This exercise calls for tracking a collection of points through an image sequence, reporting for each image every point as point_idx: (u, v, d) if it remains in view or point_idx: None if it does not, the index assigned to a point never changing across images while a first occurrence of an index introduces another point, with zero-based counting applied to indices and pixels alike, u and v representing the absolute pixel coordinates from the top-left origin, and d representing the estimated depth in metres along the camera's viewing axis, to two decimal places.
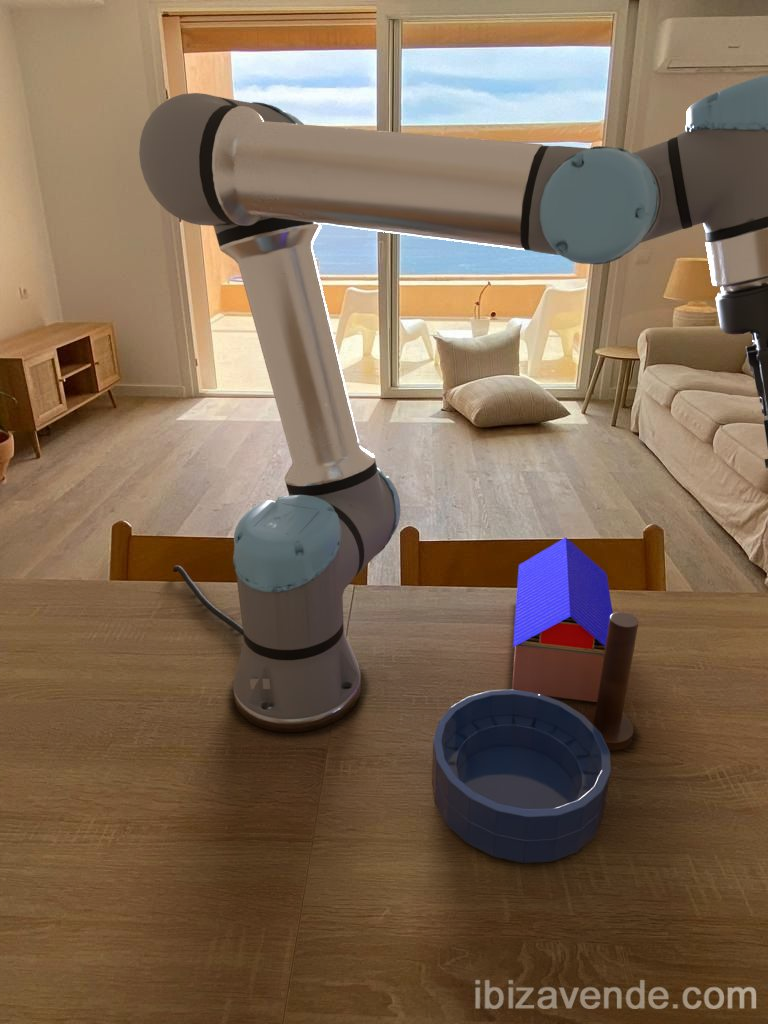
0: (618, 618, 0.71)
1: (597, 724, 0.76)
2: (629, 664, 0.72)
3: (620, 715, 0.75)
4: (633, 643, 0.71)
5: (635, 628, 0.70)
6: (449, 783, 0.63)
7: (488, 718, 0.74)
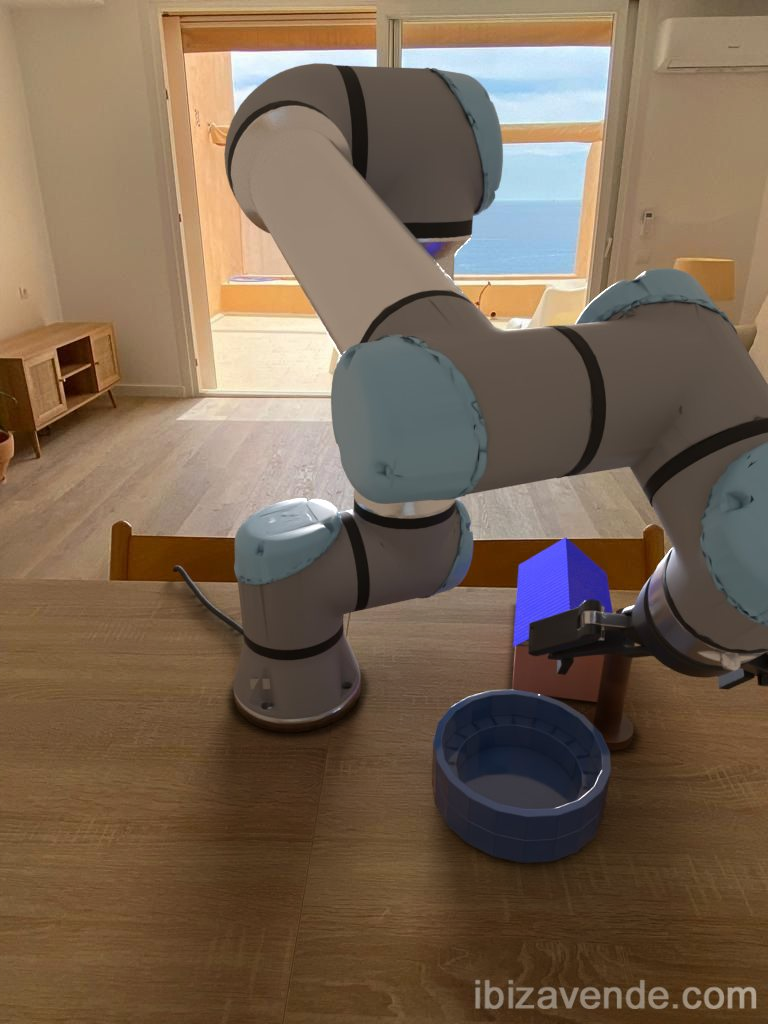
0: None
1: (597, 724, 0.76)
2: (629, 664, 0.72)
3: (620, 715, 0.75)
4: None
5: None
6: (449, 783, 0.63)
7: (488, 718, 0.74)
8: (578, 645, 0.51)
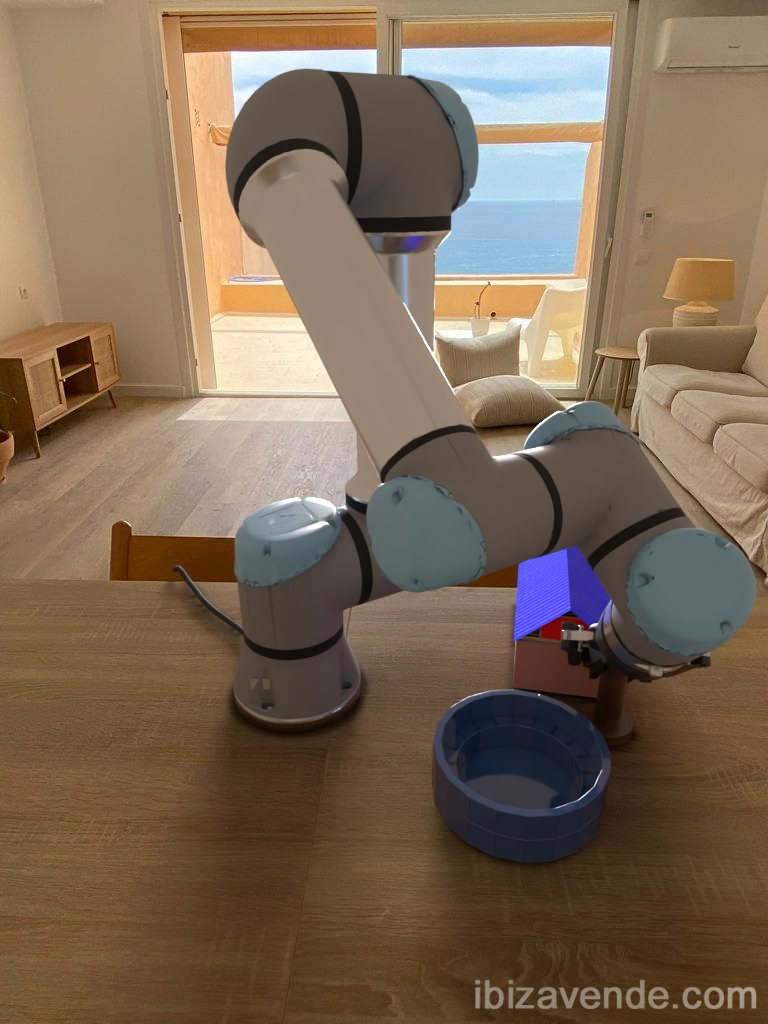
0: None
1: (597, 719, 0.76)
2: None
3: (620, 710, 0.75)
4: None
5: None
6: (449, 783, 0.63)
7: (488, 718, 0.74)
8: (579, 656, 0.67)
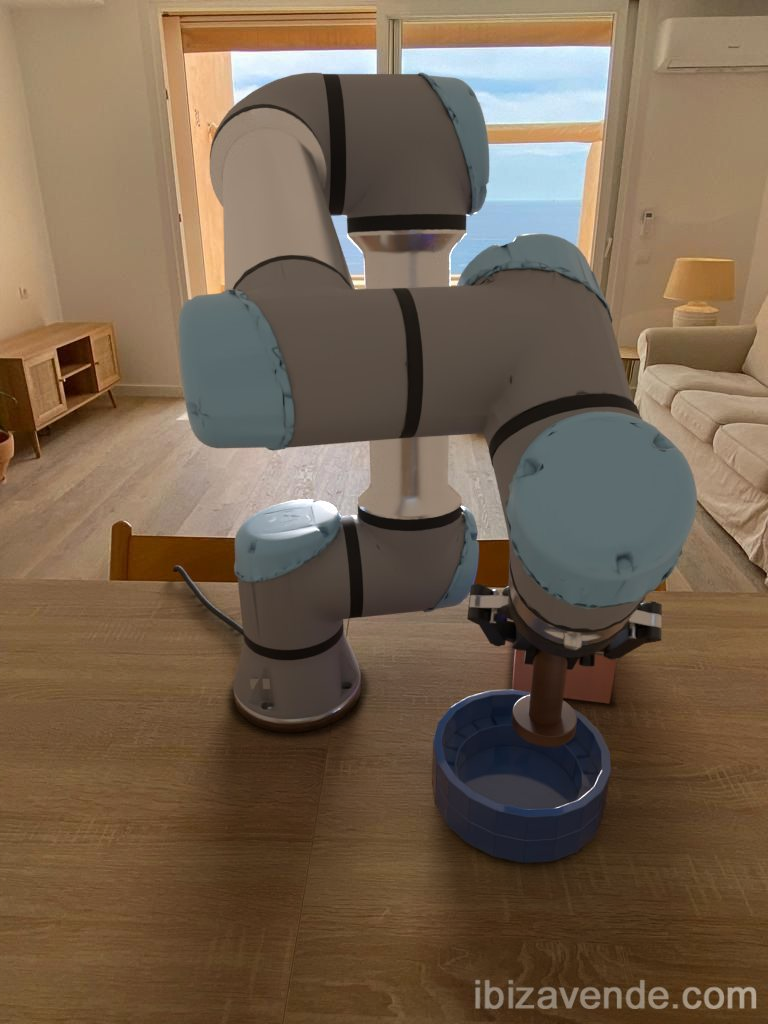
0: None
1: (532, 714, 0.61)
2: None
3: (559, 702, 0.60)
4: None
5: None
6: (449, 783, 0.63)
7: (488, 718, 0.74)
8: (496, 630, 0.52)
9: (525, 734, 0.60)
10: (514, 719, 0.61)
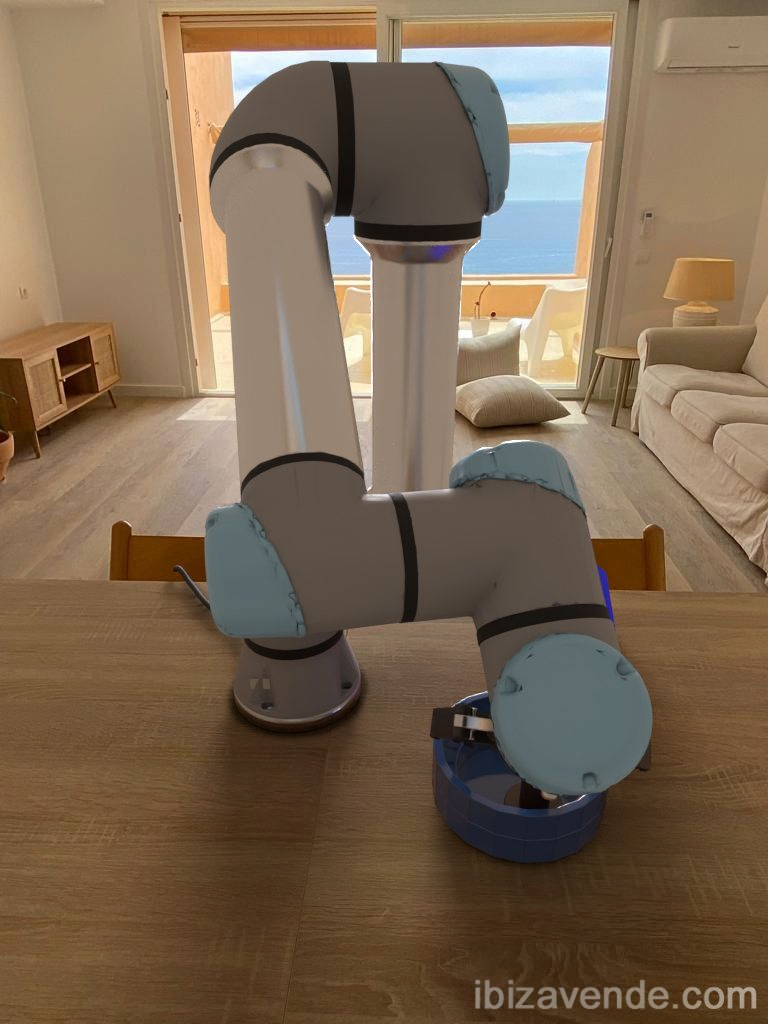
0: None
1: (522, 805, 0.65)
2: None
3: None
4: None
5: None
6: (449, 783, 0.63)
7: None
8: None
9: None
10: None
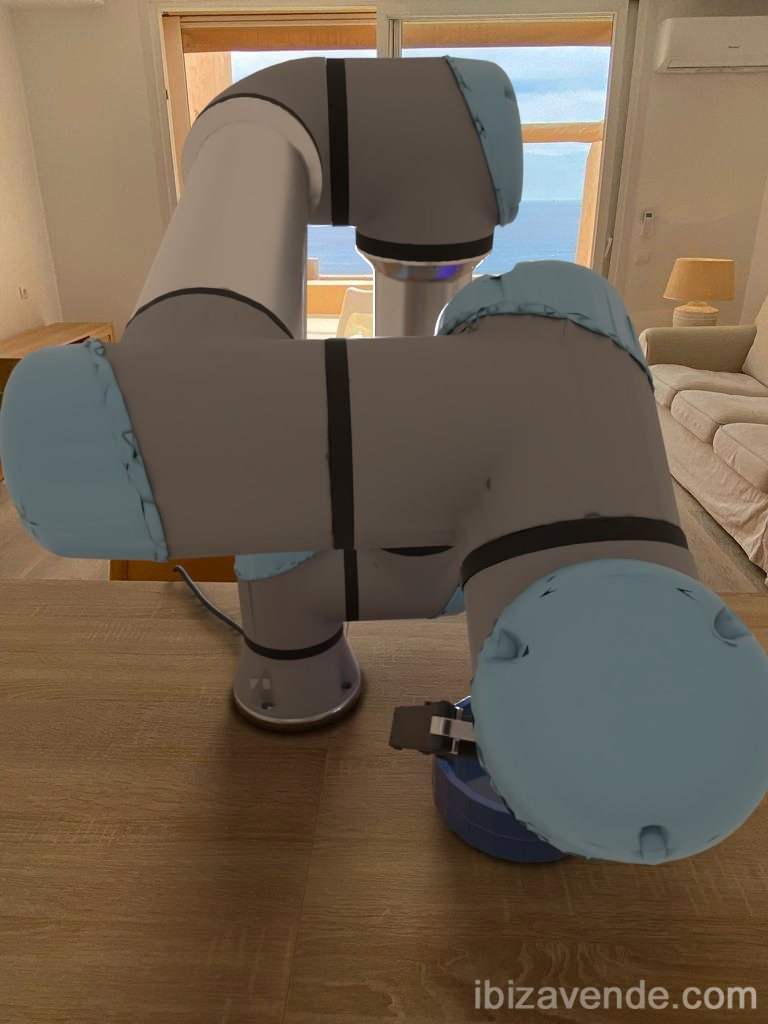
0: None
1: None
2: None
3: None
4: None
5: None
6: (449, 783, 0.63)
7: None
8: None
9: None
10: None
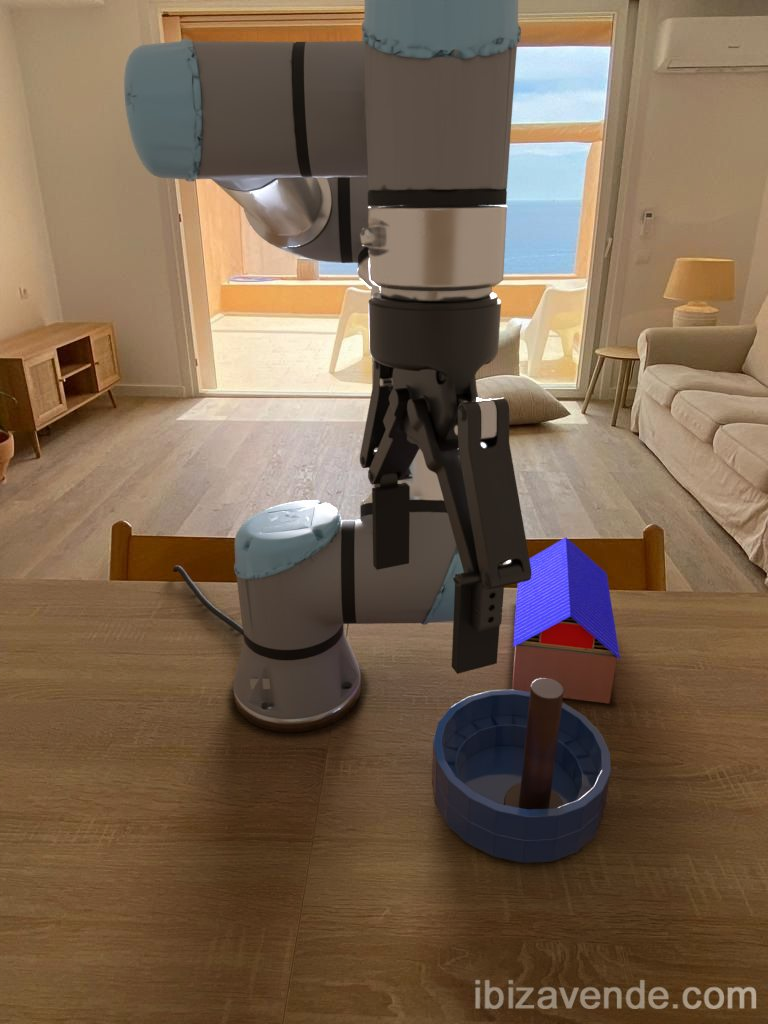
0: (540, 686, 0.60)
1: (522, 805, 0.65)
2: (554, 740, 0.61)
3: (547, 796, 0.64)
4: (558, 716, 0.60)
5: (559, 699, 0.59)
6: (449, 783, 0.63)
7: (488, 718, 0.74)
8: (374, 412, 0.48)
9: None
10: None
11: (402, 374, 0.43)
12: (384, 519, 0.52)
